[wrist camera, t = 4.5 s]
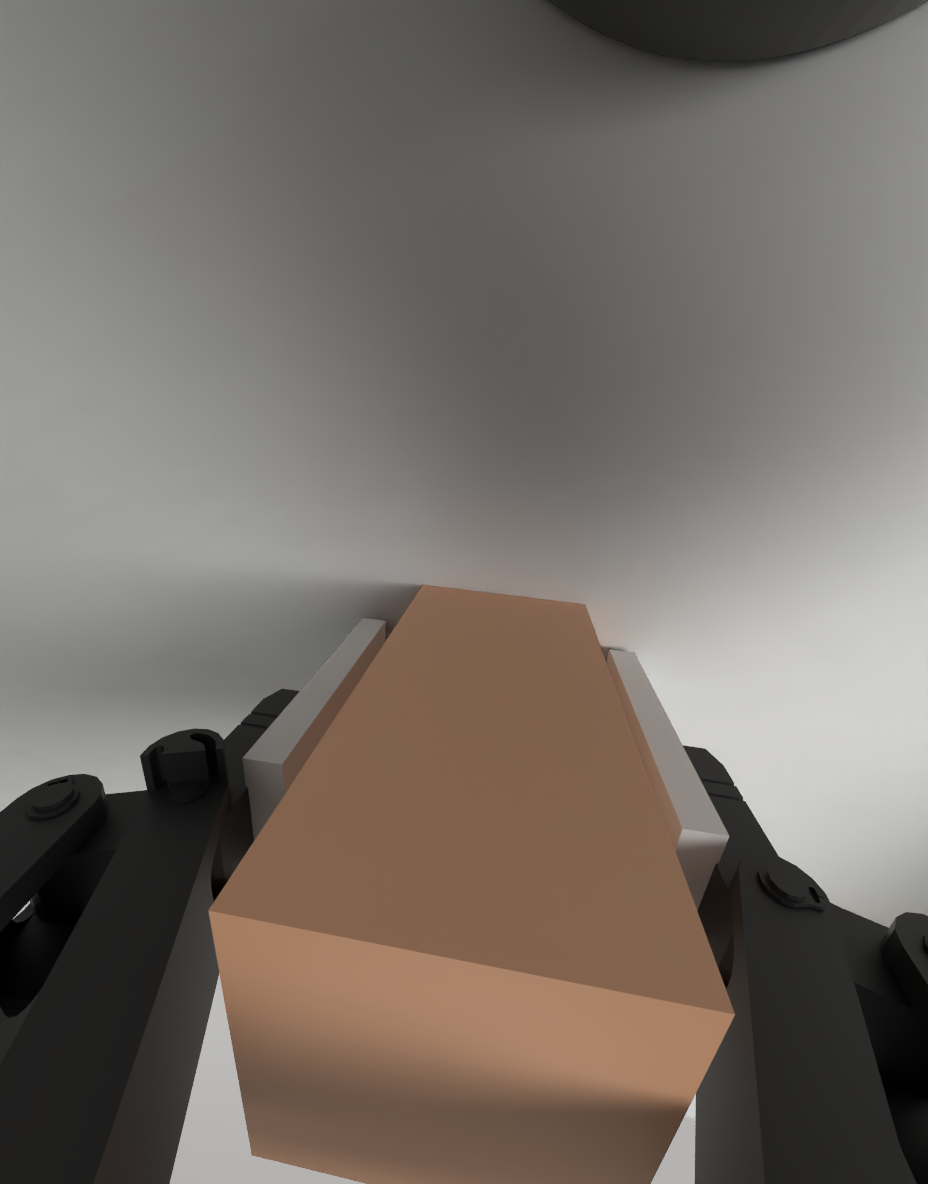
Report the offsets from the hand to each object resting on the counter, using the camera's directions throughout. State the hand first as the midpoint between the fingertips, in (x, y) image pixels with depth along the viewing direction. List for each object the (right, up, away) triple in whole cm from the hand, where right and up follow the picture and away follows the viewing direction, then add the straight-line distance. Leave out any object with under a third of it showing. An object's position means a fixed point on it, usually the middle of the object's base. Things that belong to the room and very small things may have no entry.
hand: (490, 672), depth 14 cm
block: (0, 0, 0) cm, 0 cm away
